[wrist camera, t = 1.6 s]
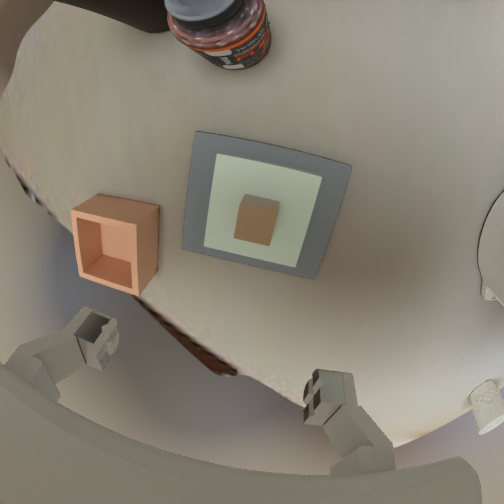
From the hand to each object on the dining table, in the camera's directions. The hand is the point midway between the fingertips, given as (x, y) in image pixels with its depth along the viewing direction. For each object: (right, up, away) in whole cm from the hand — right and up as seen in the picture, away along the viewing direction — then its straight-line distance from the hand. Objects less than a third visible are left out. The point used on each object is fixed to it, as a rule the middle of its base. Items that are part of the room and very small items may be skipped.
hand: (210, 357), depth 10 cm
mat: (+2, +8, +16) cm, 18 cm away
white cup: (+51, -26, +27) cm, 63 cm away
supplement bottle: (0, +22, +9) cm, 24 cm away
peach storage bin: (-12, +6, +19) cm, 23 cm away
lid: (+2, +8, +15) cm, 17 cm away
